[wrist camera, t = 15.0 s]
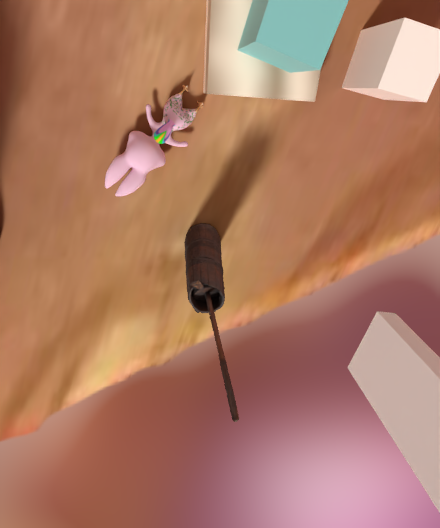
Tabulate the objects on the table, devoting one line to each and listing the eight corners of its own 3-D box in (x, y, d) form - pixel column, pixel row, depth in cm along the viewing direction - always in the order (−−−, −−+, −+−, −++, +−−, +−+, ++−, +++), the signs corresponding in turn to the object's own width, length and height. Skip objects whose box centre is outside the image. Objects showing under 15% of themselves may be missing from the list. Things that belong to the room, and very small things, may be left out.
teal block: (237, 50, 33) (255, 41, 26) (259, -23, 30) (286, -54, 24) (289, 72, 35) (319, 70, 28) (314, 5, 32) (355, -16, 25)
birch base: (202, 92, 39) (207, 93, 34) (207, -41, 33) (213, -60, 29) (299, 99, 41) (314, 101, 36) (319, -26, 35) (340, -42, 31)
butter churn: (155, 211, 44) (140, 363, 20) (224, 197, 45) (291, 330, 20) (172, 268, 49) (175, 450, 25) (234, 255, 49) (298, 421, 25)
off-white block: (341, 88, 40) (377, 88, 33) (361, 30, 38) (405, 17, 31) (383, 99, 42) (426, 102, 35) (405, 44, 39) (456, 35, 32)
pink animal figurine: (171, 75, 38) (90, 172, 40) (178, 66, 33) (84, 178, 35) (209, 116, 41) (131, 206, 43) (221, 114, 36) (132, 216, 37)
